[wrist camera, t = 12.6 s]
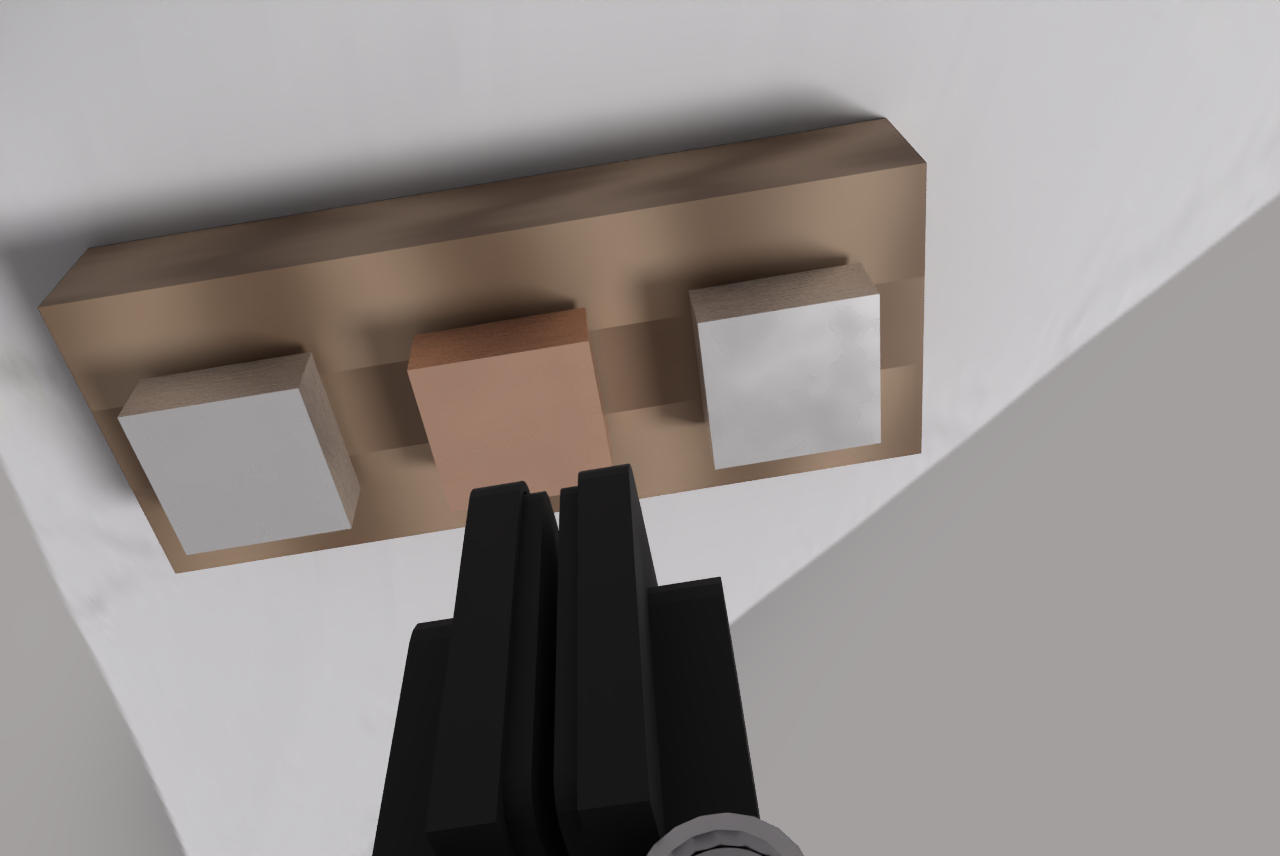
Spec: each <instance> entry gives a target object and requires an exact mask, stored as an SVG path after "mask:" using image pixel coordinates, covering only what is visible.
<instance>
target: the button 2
mask: <svg viewBox="0 0 1280 856" xmlns="http://www.w3.org/2000/svg"><path fill="white" fill-rule="evenodd" d="M689 299H690V307H691V315H692V323H693V331H694V339H695V347H696V355H697V364H698V372H699V380H700V388H701V396H702V404H703V412H704V421H705V429H706V435H707V439H708V443H709V447H710V451H711V455H712V459H713V463H714V467H715V470H717V469H723V468H729V467H735V466H741V465H747V464H754V463H760V462H766V461H772V460H778V459H785V458H791V457H797V456H803V455H809V454H816V453H822V452H828V451H834V450H840V449H846V448H853V447H859V446H865V445H871V444H877V443H881V392H880V293H879V292H878V290H877V289H876V287H875V285H874V284H873V282H872V280H871V279H870V277H869V275H868V274H867V272H866V271H865V269H864V267H863V266H862V264H861V263H855V264H848V265H842V266H836V267H830V268H824V269H818V270H812V271H805V272H799V273H793V274H787V275H781V276H775V277H768V278H762V279H756V280H750V281H744V282H738V283H732V284H725V285H719V286H713V287H707V288H701V289H695V290H689Z"/></svg>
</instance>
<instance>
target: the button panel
mask: <svg viewBox="0 0 1280 856" xmlns="http://www.w3.org/2000/svg"><path fill="white" fill-rule="evenodd" d="M926 170H927V163H926V162H925V160H924V159H923V158H922V157H921V156H920V155H919V154H918V153H917V152H916V151H915V149H914V148H913V147H912V146H911V145H910V144H909V143H908V142H907V141H906V139H905V138H904V137H903V136H902V135H901V134H900V133H899V132H898V131H897V129H896V128H895V127H894V126H893V125H892V124H891V123H890V122H889V121H888V119H887V118H884V119H877V120H871V121H865V122H859V123H853V124H847V125H841V126H835V127H828V128H822V129H816V130H810V131H804V132H798V133H792V134H786V135H779V136H773V137H767V138H761V139H755V140H749V141H743V142H737V143H730V144H724V145H718V146H712V147H706V148H700V149H694V150H688V151H681V152H675V153H669V154H663V155H657V156H651V157H645V158H639V159H633V160H626V161H620V162H614V163H608V164H602V165H596V166H590V167H584V168H577V169H571V170H565V171H559V172H553V173H547V174H541V175H535V176H528V177H522V178H516V179H510V180H504V181H498V182H492V183H486V184H479V185H473V186H467V187H461V188H455V189H449V190H443V191H437V192H430V193H424V194H418V195H412V196H406V197H400V198H394V199H388V200H382V201H375V202H369V203H363V204H357V205H351V206H345V207H339V208H333V209H326V210H320V211H314V212H308V213H302V214H296V215H290V216H284V217H277V218H271V219H265V220H259V221H253V222H247V223H241V224H235V225H228V226H222V227H216V228H210V229H204V230H198V231H192V232H186V233H179V234H173V235H167V236H161V237H155V238H149V239H143V240H137V241H130V242H124V243H118V244H112V245H106V246H100V247H94V248H88V249H87V250H86V251H85V253H84V254H83V255H82V256H81V257H80V258H79V260H78V261H77V262H76V263H75V264H74V266H73V267H72V268H71V269H70V270H69V271H68V273H67V274H66V275H65V276H64V277H63V278H62V280H61V281H60V282H59V283H58V284H57V286H56V287H55V288H54V289H53V290H52V291H51V293H50V294H49V295H48V296H47V297H46V298H45V300H44V301H43V302H42V303H41V304H40V306H39V307H38V310H39V312H40V314H41V315H42V317H43V319H44V321H45V323H46V325H47V327H48V329H49V331H50V333H51V335H52V337H53V339H54V340H55V342H56V344H57V346H58V348H59V350H60V352H61V354H62V356H63V358H64V360H65V362H66V364H67V365H68V367H69V369H70V371H71V373H72V375H73V377H74V379H75V381H76V383H77V385H78V387H79V389H80V391H81V392H82V394H83V396H84V398H85V400H86V402H87V404H88V406H89V408H90V410H91V412H92V414H93V416H94V417H95V419H96V421H97V423H98V425H99V427H100V429H101V431H102V433H103V435H104V437H105V439H106V441H107V442H108V444H109V446H110V448H111V450H112V452H113V454H114V456H115V458H116V460H117V462H118V464H119V466H120V468H121V469H122V471H123V473H124V475H125V477H126V479H127V481H128V483H129V485H130V487H131V489H132V491H133V493H134V494H135V496H136V498H137V500H138V502H139V504H140V506H141V508H142V510H143V512H144V514H145V516H146V518H147V520H148V521H149V523H150V525H151V527H152V529H153V531H154V533H155V535H156V537H157V539H158V541H159V543H160V545H161V546H162V548H163V550H164V552H165V554H166V556H167V558H168V560H169V562H170V564H171V566H172V568H173V570H174V571H175V573H182V572H189V571H195V570H201V569H207V568H213V567H220V566H226V565H232V564H238V563H244V562H250V561H257V560H263V559H269V558H275V557H281V556H288V555H294V554H300V553H306V552H312V551H319V550H325V549H331V548H337V547H343V546H350V545H356V544H362V543H368V542H374V541H381V540H387V539H393V538H399V537H405V536H411V535H418V534H424V533H430V532H436V531H442V530H449V529H455V528H461V527H466V519H467V512H468V510H463V511H457V512H450V509H449V506H448V503H447V499H446V496H445V493H444V490H443V486H442V483H441V480H440V476H439V473H438V470H437V467H436V463H435V460H434V457H433V454H432V450H431V447H430V444H429V441H428V437H427V434H426V431H425V428H424V424H423V421H422V418H421V415H420V411H419V408H418V405H417V402H416V398H415V395H414V392H413V389H412V385H411V382H410V379H409V375H408V372H407V368H408V363H409V358H410V352H411V347H412V342H413V337H414V335H418V334H424V333H430V332H436V331H442V330H449V329H455V328H461V327H467V326H473V325H479V324H486V323H492V322H498V321H504V320H510V319H516V318H522V317H529V316H535V315H541V314H547V313H553V312H559V311H565V310H572V309H578V308H584V307H585V308H586V313H587V318H588V324H589V329H590V334H591V340H592V345H593V350H594V356H595V361H596V367H597V372H598V377H599V383H600V388H601V393H602V399H603V404H604V409H605V415H606V420H607V425H608V431H609V436H610V442H611V447H612V455H613V465H614V466H617V465H623V464H629V463H630V465H631V468H632V471H633V475H634V479H635V484H636V488H637V493H638V497H639V499H641V498H647V497H653V496H659V495H665V494H672V493H678V492H684V491H690V490H696V489H703V488H709V487H715V486H721V485H727V484H733V483H740V482H746V481H752V480H758V479H764V478H771V477H777V476H783V475H789V474H795V473H802V472H808V471H814V470H820V469H826V468H833V467H839V466H845V465H851V464H857V463H864V462H870V461H876V460H882V459H888V458H894V457H901V456H907V455H913V454H919V453H921V437H922V384H923V330H924V277H925V223H926ZM855 263H861V264H862V266H863V267H864V269H865V271H866V272H867V274H868V275H869V277H870V279H871V280H872V282H873V284H874V285H875V287H876V289H877V290H878V292H879V293H880V392H881V443H877V444H871V445H865V446H859V447H853V448H846V449H840V450H834V451H828V452H822V453H816V454H809V455H803V456H797V457H791V458H785V459H778V460H772V461H766V462H760V463H754V464H747V465H741V466H735V467H729V468H723V469H717V470H715V467H714V463H713V459H712V455H711V451H710V447H709V443H708V439H707V435H706V429H705V421H704V412H703V404H702V396H701V388H700V380H699V372H698V364H697V355H696V347H695V339H694V331H693V323H692V315H691V307H690V299H689V290H695V289H701V288H707V287H713V286H719V285H725V284H732V283H738V282H744V281H750V280H756V279H762V278H768V277H775V276H781V275H787V274H793V273H799V272H805V271H812V270H818V269H824V268H830V267H836V266H842V265H848V264H855ZM307 352H311V353H312V356H313V359H314V361H315V364H316V367H317V370H318V372H319V375H320V378H321V381H322V383H323V386H324V389H325V392H326V394H327V397H328V400H329V403H330V405H331V408H332V411H333V414H334V416H335V419H336V422H337V425H338V427H339V430H340V433H341V436H342V438H343V441H344V444H345V447H346V449H347V452H348V455H349V458H350V460H351V463H352V466H353V469H354V471H355V474H356V477H357V480H358V482H359V485H360V488H361V489H360V493H359V497H358V502H357V506H356V511H355V515H354V520H353V524H352V528H351V529H345V530H339V531H333V532H327V533H320V534H314V535H308V536H302V537H296V538H289V539H283V540H277V541H271V542H265V543H258V544H252V545H246V546H240V547H234V548H228V549H221V550H215V551H209V552H203V553H197V554H190V555H186V553H185V551H184V549H183V547H182V545H181V543H180V541H179V539H178V537H177V535H176V533H175V531H174V529H173V527H172V525H171V523H170V521H169V519H168V517H167V515H166V513H165V511H164V509H163V507H162V505H161V503H160V501H159V499H158V497H157V495H156V493H155V491H154V489H153V487H152V485H151V483H150V481H149V479H148V477H147V475H146V473H145V471H144V470H143V468H142V466H141V464H140V462H139V460H138V458H137V456H136V454H135V452H134V450H133V448H132V446H131V444H130V442H129V440H128V438H127V436H126V434H125V432H124V430H123V428H122V426H121V424H120V422H119V420H118V418H117V417H118V416H119V414H120V412H121V411H122V409H123V407H124V406H125V404H126V402H127V401H128V399H129V397H130V396H131V394H132V392H133V391H134V389H135V387H136V386H137V384H138V382H139V381H140V380H141V379H147V378H153V377H160V376H166V375H172V374H178V373H184V372H190V371H196V370H203V369H209V368H215V367H221V366H227V365H233V364H239V363H246V362H252V361H258V360H264V359H270V358H276V357H283V356H289V355H295V354H301V353H307ZM549 498H550V501H551V505H552V508H553V512H560V495H556V496H549Z"/></svg>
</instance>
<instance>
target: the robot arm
mask: <svg viewBox="0 0 1280 856" xmlns="http://www.w3.org/2000/svg"><path fill="white" fill-rule="evenodd" d="M372 856H804V855H803V853H802V852H801V850H800V848H799V846H798V845H796V844H795V843H794V842H793V841H792V840H791V839H790V838H789V837H788V836H787V835H785V833H783V832H782V831H781V830H780V829H779V828H777V827H775V826H773V825H771V824H769V823H767V822H765V821H762V820H760V815H759V809H758V803H757V796H756V790H755V784H754V777H753V771H752V765H751V759H750V752H749V746H748V740H747V733H746V727H745V721H744V714H743V709H742V702H741V696H740V690H739V683H738V677H737V671H736V665H735V659H734V652H733V646H732V640H731V634H730V628H729V622H728V616H727V610H726V605H725V599H724V593H723V587H722V581H721V577H715V578H708V579H702V580H696V581H689V582H683V583H676V584H670V585H663V586H658V584H657V580H656V575H655V570H654V566H653V561H652V557H651V552H650V548H649V543H648V539H647V534H646V529H645V525H644V520H643V516H642V511H641V507H640V502H639V497H638V493H637V488H636V484H635V479H634V475H633V471H632V468H631V465H630V463H629V464H623V465H617V466H610V467H604V468H598V469H592V470H586V471H580V472H579V473H578V486H573V487H567V488H561V490H560V512H559V530H558V526H557V523H556V519H555V515H554V512H553V508H552V505H551V501H550V498H549V496H548V494H547V492H546V491H542V492H536V493H530V491H529V488H528V486H527V484H526V482H524V481H518V482H512V483H506V484H500V485H493V486H487V487H481V488H475V489H473V490H472V491H471V493H470V497H469V504H468V512H467V519H466V527H465V534H464V542H463V549H462V557H461V564H460V572H459V579H458V587H457V594H456V602H455V609H454V617H453V618H451V619H444V620H438V621H431V622H425V623H418V624H417V625H416V627H415V628H414V629H413V632H412V635H411V639H410V643H409V648H408V654H407V660H406V665H405V671H404V677H403V682H402V688H401V694H400V700H399V705H398V711H397V717H396V722H395V728H394V734H393V739H392V745H391V751H390V757H389V762H388V768H387V774H386V779H385V785H384V791H383V797H382V802H381V808H380V814H379V819H378V825H377V831H376V837H375V842H374V848H373V854H372Z"/></svg>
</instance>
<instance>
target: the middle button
mask: <svg viewBox="0 0 1280 856" xmlns="http://www.w3.org/2000/svg"><path fill="white" fill-rule="evenodd" d="M407 372H408V375H409V379H410V382H411V385H412V389H413V392H414V395H415V398H416V402H417V405H418V408H419V411H420V415H421V418H422V421H423V424H424V428H425V431H426V434H427V437H428V441H429V444H430V447H431V450H432V454H433V457H434V460H435V463H436V467H437V470H438V473H439V476H440V480H441V483H442V486H443V490H444V493H445V496H446V499H447V503H448V506H449V509H450V512H457V511H463V510H468V504H469V497H470V493H471V491H472V490H473V489H475V488H481V487H487V486H493V485H500V484H506V483H512V482H518V481H524V482H526V484H527V486H528V488H529V491H530V493H536V492H542V491H546V492H547V494H548V496H556V495H560V490H561V488H567V487H573V486H578V473H579V472H580V471H586V470H592V469H598V468H604V467H610V466H614V465H613V455H612V447H611V442H610V436H609V431H608V425H607V420H606V415H605V409H604V404H603V399H602V393H601V388H600V383H599V377H598V372H597V367H596V361H595V356H594V350H593V345H592V340H591V334H590V329H589V324H588V318H587V313H586V308H585V307H584V308H578V309H572V310H565V311H559V312H553V313H547V314H541V315H535V316H529V317H522V318H516V319H510V320H504V321H498V322H492V323H486V324H479V325H473V326H467V327H461V328H455V329H449V330H442V331H436V332H430V333H424V334H418V335H414V337H413V342H412V347H411V352H410V358H409V363H408V368H407Z"/></svg>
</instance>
